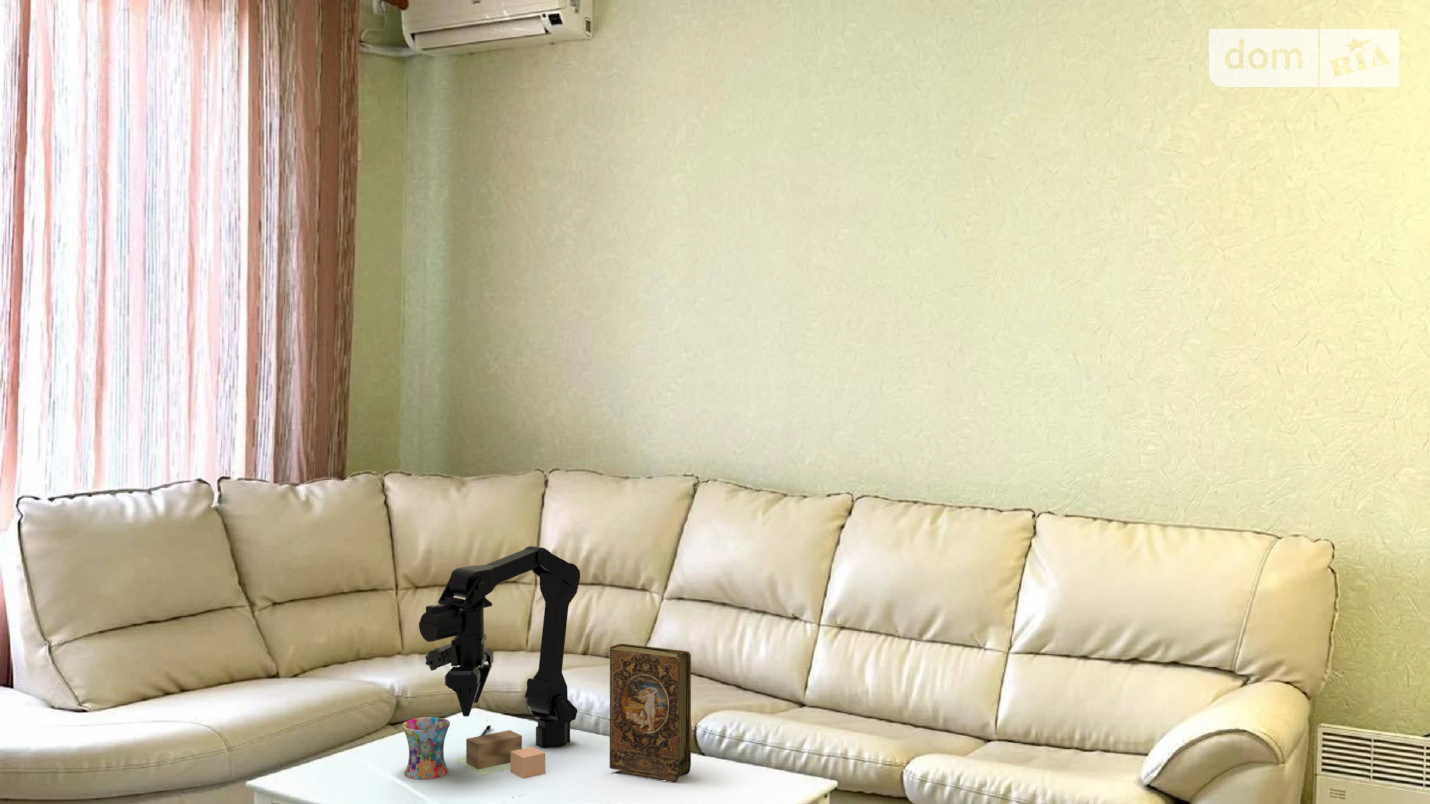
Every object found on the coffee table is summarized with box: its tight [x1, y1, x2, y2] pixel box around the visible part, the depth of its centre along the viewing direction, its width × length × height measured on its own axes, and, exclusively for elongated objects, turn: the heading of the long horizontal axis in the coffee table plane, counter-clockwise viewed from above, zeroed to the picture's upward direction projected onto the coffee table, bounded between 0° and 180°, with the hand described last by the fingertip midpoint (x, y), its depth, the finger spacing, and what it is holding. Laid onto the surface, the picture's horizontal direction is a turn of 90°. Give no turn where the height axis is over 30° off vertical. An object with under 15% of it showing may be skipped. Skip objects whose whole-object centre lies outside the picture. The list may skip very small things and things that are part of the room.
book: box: [609, 643, 692, 783], centre depth 264 cm, size 16×6×25 cm, turn 65°
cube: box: [510, 746, 546, 779], centre depth 262 cm, size 5×5×5 cm
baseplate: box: [454, 756, 511, 776], centre depth 269 cm, size 12×12×1 cm
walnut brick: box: [465, 729, 523, 769], centre depth 269 cm, size 10×5×5 cm, turn 128°
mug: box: [401, 716, 451, 781], centre depth 263 cm, size 12×9×11 cm
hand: (470, 709), depth 263 cm, fingers open, 9 cm apart
